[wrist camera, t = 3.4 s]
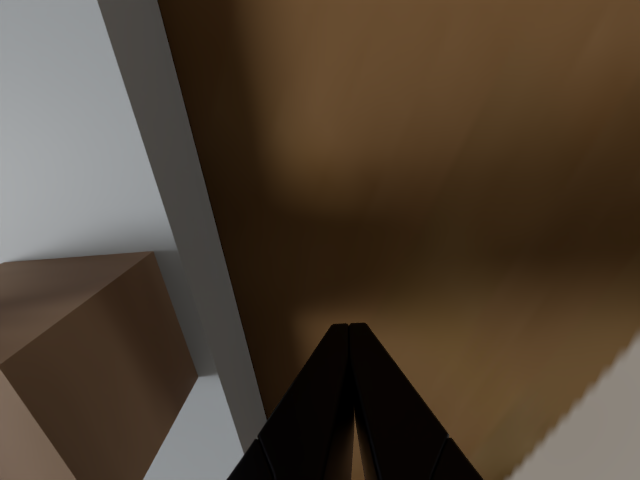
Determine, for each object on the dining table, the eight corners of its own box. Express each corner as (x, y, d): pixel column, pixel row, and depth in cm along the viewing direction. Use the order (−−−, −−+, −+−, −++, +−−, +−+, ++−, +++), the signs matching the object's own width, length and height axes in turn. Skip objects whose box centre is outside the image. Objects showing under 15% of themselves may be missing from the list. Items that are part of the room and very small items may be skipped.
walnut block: (153, 251, 8) (-2, 366, 4) (198, 377, 10) (113, 533, 6) (3, 262, 9) (-247, 373, 5) (72, 380, 10) (-76, 527, 7)
